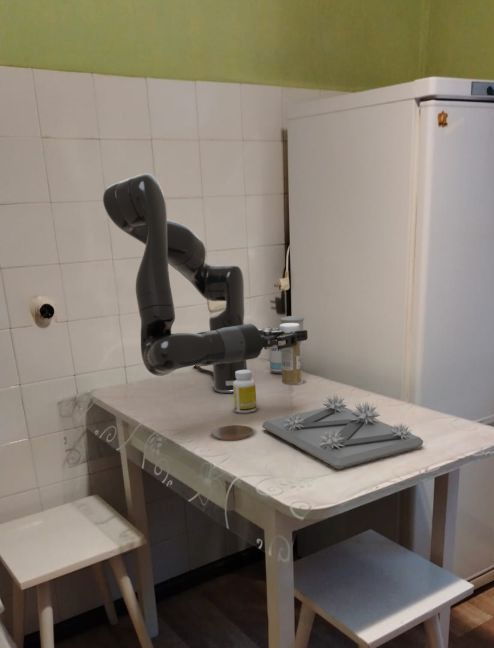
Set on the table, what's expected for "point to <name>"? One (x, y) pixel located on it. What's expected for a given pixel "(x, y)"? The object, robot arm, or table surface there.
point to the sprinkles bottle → (290, 358)
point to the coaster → (232, 432)
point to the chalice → (294, 320)
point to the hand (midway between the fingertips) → (299, 333)
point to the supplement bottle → (244, 392)
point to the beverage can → (275, 360)
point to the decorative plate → (343, 434)
